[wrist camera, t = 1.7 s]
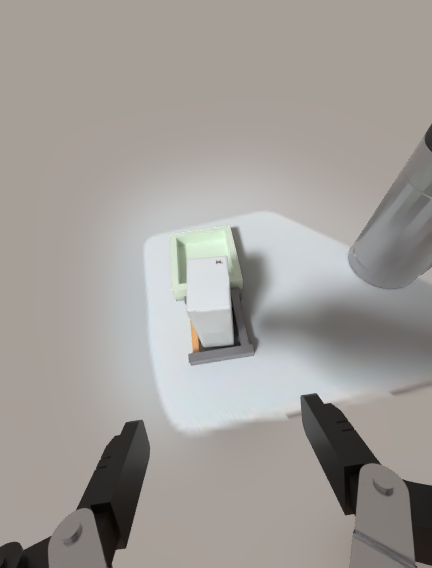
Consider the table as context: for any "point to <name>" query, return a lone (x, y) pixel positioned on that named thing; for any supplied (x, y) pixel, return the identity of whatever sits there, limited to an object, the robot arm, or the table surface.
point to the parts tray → (202, 255)
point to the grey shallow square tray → (225, 353)
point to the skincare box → (210, 301)
